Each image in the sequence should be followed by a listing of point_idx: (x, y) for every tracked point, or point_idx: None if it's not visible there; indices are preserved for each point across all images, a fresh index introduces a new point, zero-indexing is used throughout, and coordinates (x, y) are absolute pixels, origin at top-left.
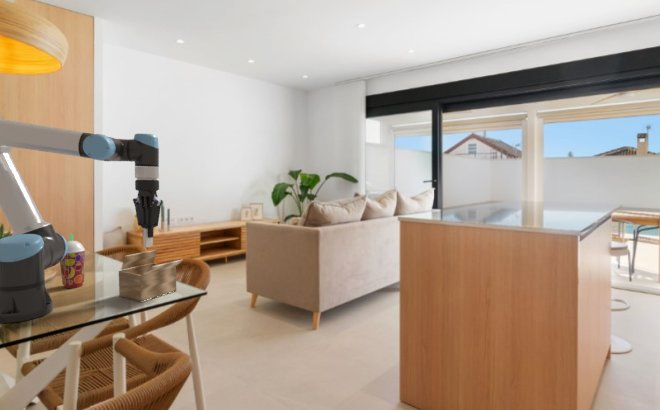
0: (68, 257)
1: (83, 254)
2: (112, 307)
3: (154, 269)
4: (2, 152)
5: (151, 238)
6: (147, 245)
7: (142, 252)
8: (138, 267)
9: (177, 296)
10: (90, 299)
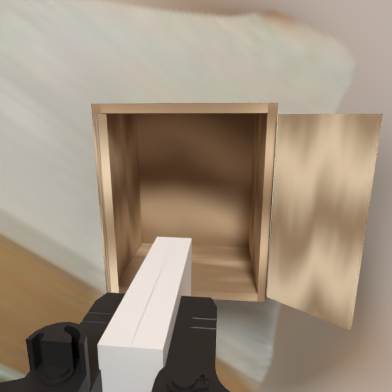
0: None
1: None
2: (217, 315)
3: (312, 277)
4: None
5: (183, 285)
6: (189, 291)
7: (107, 229)
8: None
9: None
10: (94, 300)
